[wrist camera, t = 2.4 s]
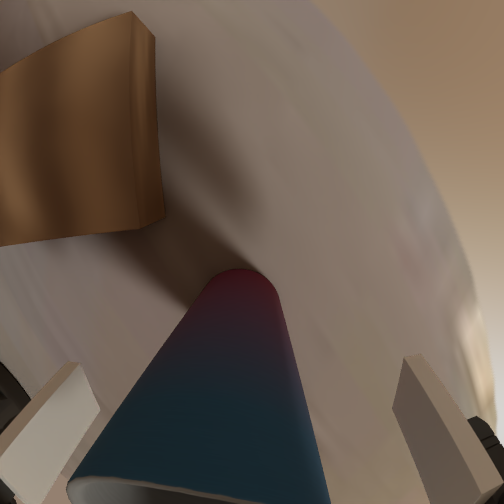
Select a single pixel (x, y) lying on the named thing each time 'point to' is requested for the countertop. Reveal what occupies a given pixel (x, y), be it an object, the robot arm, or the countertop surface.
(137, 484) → the cup
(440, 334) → the countertop surface
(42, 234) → the base block
